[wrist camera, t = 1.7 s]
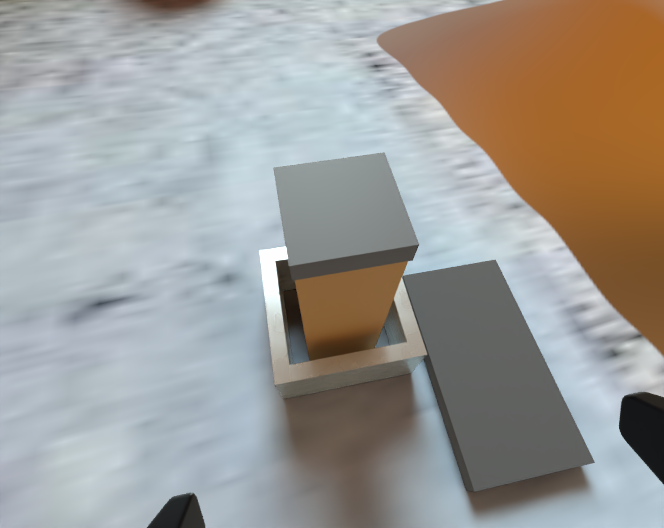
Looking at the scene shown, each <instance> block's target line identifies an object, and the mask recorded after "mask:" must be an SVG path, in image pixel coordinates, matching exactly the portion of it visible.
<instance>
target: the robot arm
mask: <svg viewBox="0 0 664 528" xmlns="http://www.w3.org/2000/svg"><path fill="white" fill-rule="evenodd" d="M619 429H620V432H621V435H622V436H623V438H624V439H625V441H626V442H627V443H628V444H629V445H630V446H631V448H632V449H633V450H634V451H635V452H636V453H637V454H638V456H639V457H640V458H641V459H642V460H643V461H644V462H645V464H646V465H647V466H648V467H649V468H650V469H651V470H652V472H653V473H654V474H655V475H656V476H657V477H658V478H659V480H660V481H661V482H662V483H663V484H664V397H661V396H658V395H654V394H651V393H647V392H638V393H633V394H629V395H626V396H624V397H623V399H622V402H621V411H620V421H619ZM147 528H205V523H204V519H203V516H202V513H201V509H200V506H199V503H198V500H197V497H196V495H195V494H194V493H187V494H182V495H178V496H174V497H172V498H171V499H170V500H169V501H168V502H167V503H166V504H165V505H164V507H163V508H162V509H161V510H160V512H159V513H158V514H157V516H156V517H155V518H154V519H153V521H152V522H151V523H150V524H149V526H148V527H147Z"/></svg>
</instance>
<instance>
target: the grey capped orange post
mask: <svg viewBox="0 0 664 528" xmlns="http://www.w3.org/2000/svg"><path fill="white" fill-rule="evenodd" d="M274 175H275V181H276V187H277V194H278V200H279V206H280V213H281V219H282V226H283V232H284V238H285V245H286V251H287V258H288V264H289V269H290V274H291V279H292V281H294V280H295V284H296V289H297V295H298V300H299V306H300V311H301V316H302V322H303V327H304V333H305V338H306V343H307V349H308V354H309V360H310V361H312V360H318V359H323V358H328V357H333V356H338V355H343V354H348V353H354V352H359V351H364V350H369V349H374V348H375V346H376V344H377V341H378V338H379V336H380V333H381V331H382V328H383V325H384V323H385V320H386V317H387V315H388V312H389V310H390V307H391V304H392V302H393V299H394V297H395V294H396V291H397V289H398V286H399V283H400V281H401V278H402V276H403V273H404V270H405V268H406V265H407V262H408V261H411V260H413V258H414V256H415V253H416V251H417V248H418V246H419V243H418V240H417V238H416V235H415V232H414V230H413V227H412V224H411V222H410V219H409V216H408V214H407V211H406V208H405V206H404V203H403V200H402V198H401V195H400V192H399V190H398V187H397V185H396V182H395V179H394V177H393V174H392V171H391V169H390V166H389V163H388V161H387V158H386V155H385V153H377V154H370V155H363V156H356V157H348V158H341V159H334V160H326V161H319V162H312V163H305V164H297V165H290V166H283V167H276V168H274Z"/></svg>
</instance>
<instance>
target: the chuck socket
mask: <svg viewBox="0 0 664 528" xmlns="http://www.w3.org/2000/svg"><path fill="white" fill-rule="evenodd" d="M260 260H261V269H262V277H263V286H264V295H265V304H266V313H267V322H268V331H269V339H270V348H271V357H272V366H273V375H274V384H275V386H276V388H277V389H278V391H279V392H280V394H281V395H282V397H283V398H284V399H286V398H291V397H296V396H301V395H306V394H311V393H316V392H321V391H326V390H330V389H335V388H340V387H345V386H350V385H355V384H360V383H365V382H370V381H375V380H380V379H384V378H389V377H394V376H399V375H404V374H409V373H412V372H413V371H414V369H415V368H416V367H417V366H418V365H419V364H420V362H421V361H422V360H423V359H424V358H425V357H426V356H427V352H426V349H425V346H424V343H423V340H422V337H421V334H420V331H419V328H418V325H417V322H416V319H415V316H414V313H413V309H412V306H411V303H410V300H409V297H408V294H407V291H406V288H405V285H404V282H403V279H402V278H401V281H400V283H399V286H398V289H397V291H396V294H395V297H394V299H393V302H392V304H391V307H390V310H389V312H388V315H387V317H386V320H385V323H384V327H385V330H386V334H387V337H388V341H389V344H390V346H384V347H379V348H374V349H369V350H364V351H359V352H354V353H348V354H343V355H338V356H333V357H328V358H323V359H318V360H312V361H307V362H302V363H297V364H293V359H292V352H291V345H290V337H289V330H288V323H287V316H286V309H285V302H284V295H283V291H285V290H291V289H296V284H295V280H294V281H292V279H291V274H290V269H289V264H288V258H287V251H286V247H283V248H276V249H270V250H264V251H260Z"/></svg>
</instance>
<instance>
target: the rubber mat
mask: <svg viewBox="0 0 664 528" xmlns="http://www.w3.org/2000/svg"><path fill="white" fill-rule="evenodd" d="M402 279H403V282H404V285H405V288H406V291H407V294H408V297H409V300H410V303H411V306H412V309H413V313H414V316H415V319H416V322H417V325H418V328H419V331H420V334H421V337H422V340H423V343H424V346H425V349H426V352H427V356H426V357H425V358H424V361H425V364H426V367H427V370H428V373H429V376H430V379H431V383H432V386H433V389H434V392H435V395H436V398H437V401H438V404H439V407H440V410H441V413H442V417H443V420H444V423H445V426H446V429H447V432H448V435H449V438H450V441H451V444H452V447H453V451H454V454H455V457H456V460H457V463H458V466H459V469H460V472H461V475H462V478H463V481H464V485H465V488H466V490H467V491H473V492H476V491H480V490H484V489H488V488H492V487H496V486H501V485H505V484H509V483H513V482H517V481H521V480H525V479H529V478H533V477H538V476H542V475H546V474H550V473H554V472H558V471H562V470H566V469H570V468H575V467H579V466H583V465H587V464H591V463H595V462H594V460H593V458H592V456H591V454H590V452H589V450H588V448H587V446H586V444H585V442H584V439H583V437H582V435H581V433H580V431H579V429H578V427H577V425H576V423H575V421H574V419H573V417H572V415H571V413H570V411H569V409H568V407H567V405H566V403H565V401H564V399H563V397H562V395H561V393H560V390H559V388H558V386H557V384H556V382H555V380H554V378H553V376H552V374H551V372H550V370H549V368H548V366H547V364H546V362H545V360H544V358H543V356H542V354H541V352H540V350H539V348H538V346H537V343H536V341H535V339H534V337H533V335H532V333H531V331H530V329H529V327H528V325H527V323H526V321H525V319H524V317H523V315H522V313H521V311H520V309H519V307H518V305H517V303H516V301H515V299H514V297H513V294H512V292H511V290H510V288H509V286H508V284H507V282H506V280H505V278H504V276H503V274H502V272H501V270H500V268H499V266H498V264H497V262H496V260H491V261H485V262H479V263H474V264H468V265H462V266H457V267H451V268H445V269H439V270H434V271H428V272H422V273H416V274H411V275H405V276H403V277H402Z"/></svg>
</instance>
